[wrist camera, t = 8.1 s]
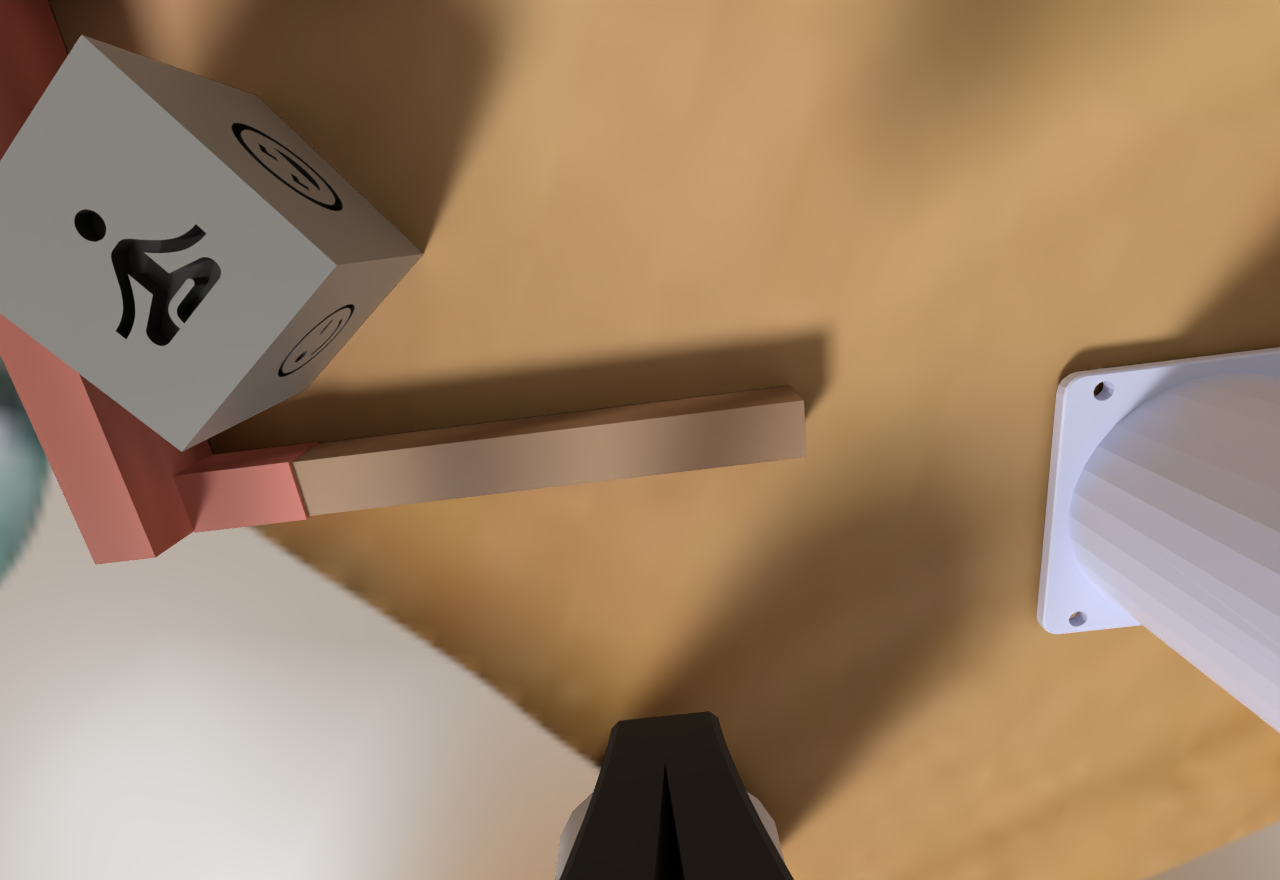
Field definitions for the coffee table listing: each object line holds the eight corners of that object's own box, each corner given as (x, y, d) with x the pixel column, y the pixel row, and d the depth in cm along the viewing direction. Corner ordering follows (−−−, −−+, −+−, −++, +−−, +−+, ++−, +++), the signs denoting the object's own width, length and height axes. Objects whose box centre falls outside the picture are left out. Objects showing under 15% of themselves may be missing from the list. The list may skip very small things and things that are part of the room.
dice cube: (306, 389, 17) (182, 451, 12) (142, 252, 16) (-66, 263, 11) (424, 253, 16) (337, 265, 11) (257, 95, 15) (81, 34, 10)
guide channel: (759, -204, 13) (795, -324, 10) (792, 440, 18) (822, 481, 15) (-52, -79, 14) (-233, -159, 11) (180, 512, 18) (96, 566, 15)
